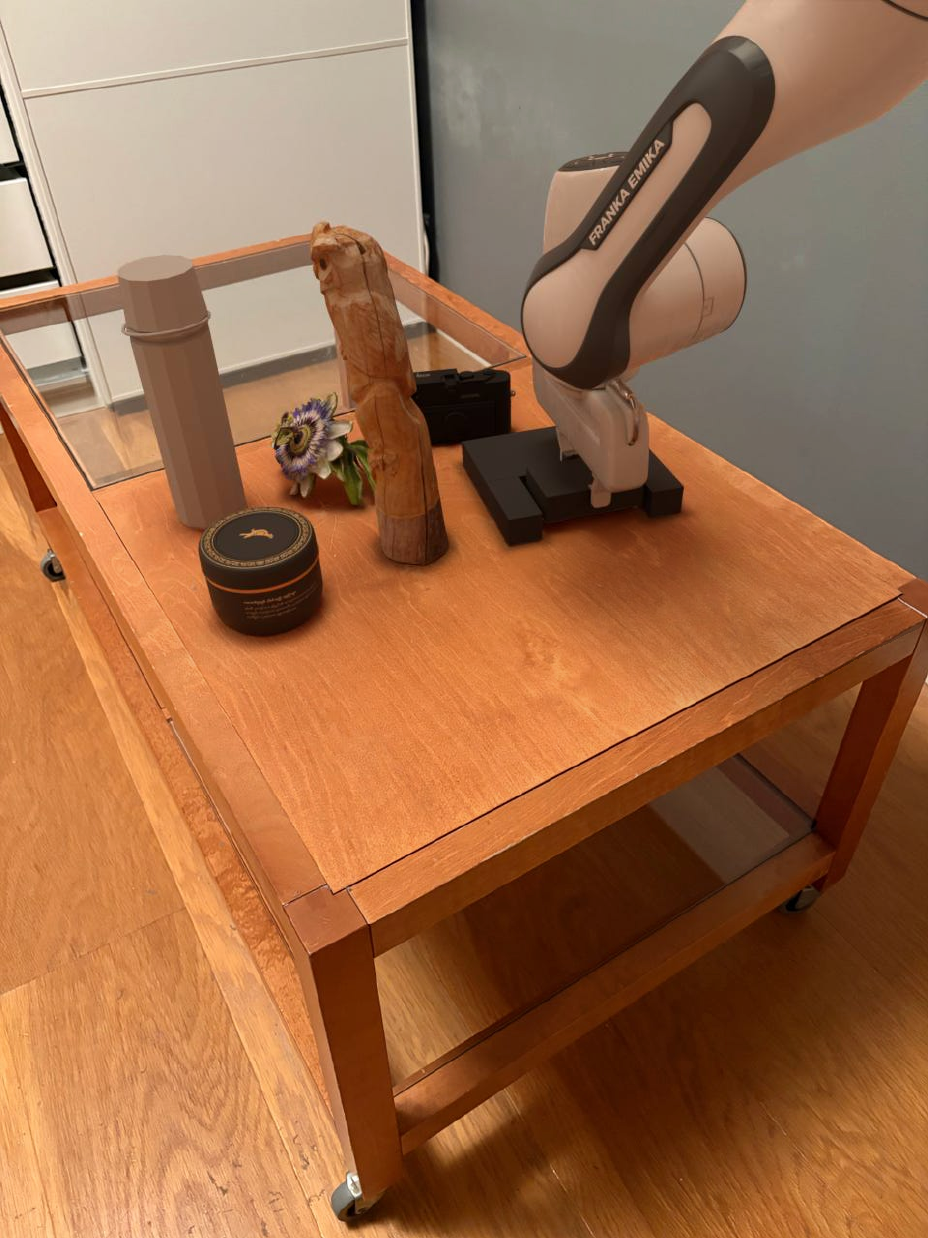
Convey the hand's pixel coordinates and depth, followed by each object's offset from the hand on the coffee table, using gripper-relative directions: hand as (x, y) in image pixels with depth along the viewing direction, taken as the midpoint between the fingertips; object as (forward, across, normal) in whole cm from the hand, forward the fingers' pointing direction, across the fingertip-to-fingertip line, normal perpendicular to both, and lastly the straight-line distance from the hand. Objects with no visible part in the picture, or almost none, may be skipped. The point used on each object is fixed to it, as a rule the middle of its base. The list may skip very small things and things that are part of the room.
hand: (583, 484), depth 93 cm
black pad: (+2, 0, 0) cm, 2 cm away
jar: (+3, -6, +32) cm, 33 cm away
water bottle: (+3, +12, +36) cm, 38 cm away
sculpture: (+3, -1, +19) cm, 19 cm away
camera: (+3, +20, +8) cm, 22 cm away
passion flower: (+3, +13, +23) cm, 27 cm away
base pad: (+3, +4, 0) cm, 5 cm away
